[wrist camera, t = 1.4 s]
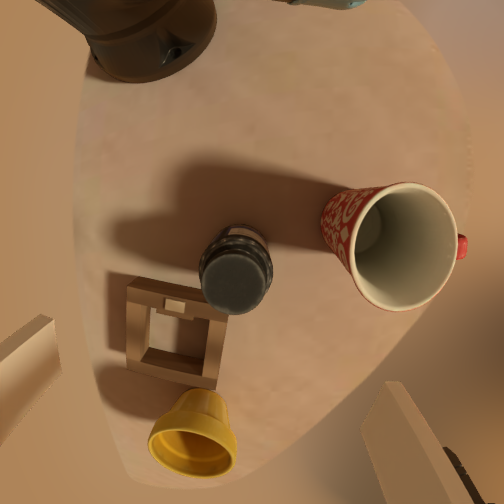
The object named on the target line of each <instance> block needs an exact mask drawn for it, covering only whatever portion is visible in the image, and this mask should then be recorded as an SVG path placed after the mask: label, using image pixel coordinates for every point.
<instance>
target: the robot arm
mask: <svg viewBox="0 0 504 504" xmlns="http://www.w3.org/2000/svg"><path fill="white" fill-rule="evenodd" d="M36 1H37V2H39V3H41V4H42V5H43V6H45V7H46V8H48V9H49V10H50V11H52V12H53V13H55V14H56V15H58V16H59V17H61V18H62V19H63V20H65V21H66V22H67V23H69V24H70V25H72V26H73V27H74V28H76V29H77V30H78V31H80V32H81V33H82V34H84V35H85V38H86V40H87V43H88V45H89V46H90V49H91V53H92V56H93V58H94V60H95V61H96V63H97V64H98V65H99V67H100V68H101V69H103V70H104V71H105V72H107V73H108V74H110V75H111V76H113V77H114V78H116V79H118V80H121V81H124V82H130V83H145V82H151V81H156V80H159V79H162V78H165V77H168V76H170V75H172V74H174V73H176V72H178V71H180V70H182V69H183V68H185V67H186V66H188V65H189V64H190V63H192V62H193V61H194V60H195V59H196V58H197V57H198V56H199V55H200V54H201V53H202V52H203V51H204V50H205V49H206V47H207V46H208V44H209V43H210V41H211V39H212V37H213V35H214V32H215V29H216V24H217V14H216V9H215V5H214V2H213V0H36ZM274 1H281V2H287V4H290V5H300V4H303V5H311V6H319V7H325V8H330V9H336V10H347V9H352V8H355V7H357V6H359V5H361V4H363V3H364V2H365V1H367V0H274ZM61 374H62V370H61V365H60V359H59V353H58V346H57V339H56V332H55V323H54V319H52V318H50V317H47V316H44V315H42V314H40V315H38V316H37V317H36V318H34V319H33V320H31V321H30V322H29V323H27V324H26V325H25V326H23V327H22V328H20V329H19V330H18V331H16V332H15V333H13V334H12V335H11V336H9V337H8V338H7V339H6V340H4V341H3V342H1V343H0V446H1V445H2V444H3V442H4V441H5V440H6V438H7V437H8V436H9V435H10V434H11V432H12V431H13V430H14V429H15V427H16V426H17V425H18V424H19V423H20V421H21V420H22V419H23V418H24V417H25V415H26V414H27V413H28V412H29V411H30V409H31V408H32V407H33V406H34V405H35V404H36V402H37V401H38V400H39V399H40V397H42V395H43V394H44V393H45V392H46V391H47V389H48V388H49V387H50V386H51V385H52V384H53V383H54V382H55V380H57V378H58V377H59V376H60V375H61ZM360 432H361V435H362V437H363V440H364V443H365V445H366V448H367V451H368V453H369V456H370V459H371V461H372V464H373V467H374V469H375V472H376V475H377V478H378V481H379V483H380V486H381V489H382V492H383V495H384V497H385V500H386V503H387V504H485V502H484V501H483V500H482V498H481V496H480V495H479V493H478V491H477V489H476V487H475V486H474V484H473V482H472V481H471V479H470V477H469V475H468V474H466V470H465V469H464V467H462V464H461V462H460V461H459V459H458V457H457V456H456V454H454V453H453V452H452V451H451V450H450V449H448V448H447V447H443V448H442V447H441V445H440V443H439V442H438V440H437V438H436V437H435V435H434V434H433V432H432V430H431V429H430V427H429V425H428V424H427V422H426V421H425V419H424V417H423V416H422V414H421V413H420V411H419V410H418V408H417V406H416V405H415V404H414V402H413V400H412V399H411V397H410V396H409V394H408V393H407V391H406V390H405V388H404V386H403V385H402V383H401V382H399V381H398V382H397V381H385V382H384V384H383V386H382V388H381V390H380V392H379V394H378V396H377V398H376V400H375V402H374V404H373V406H372V407H371V409H370V411H369V413H368V415H367V417H366V418H365V421H364V422H363V424H362V426H361V427H360ZM488 504H495V503H488Z"/></svg>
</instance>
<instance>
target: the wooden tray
mask: <svg viewBox="0 0 504 504" xmlns="http://www.w3.org/2000/svg"><path fill="white" fill-rule="evenodd" d="M151 307H152V308H157V310H156V313H160V314H164V315H169V316H173V317H178V318H182V319H187V320H192V321H193V319H194V317H198V318H203V319H208V320H210V324H209V330H208V337H207V344H206V352H205V359H204V360H203V359H198V358H193V357H188V356H184V355H179V354H175V353H171V352H166V351H162V350H158V349H154V348H150V347H149V327H150V309H151ZM228 316H229V314H224V313H221V312H219V311H217V310H216V309H214V308H213V307H212V306H211V305H210V304H209V303H208V302H207V301H206V299H205V297H204V295H203V293H202V289H197V288H192V287H187V286H182V285H177V284H172V283H167V282H163V281H158V280H153V279H149V278H144V277H140V276H139V277H137V278H136V279H135V280H134V281H133V282H131V283H130V284H129V285H128V286H127V301H126V363H127V370H131V371H134V372H138V373H141V374H145V375H149V376H153V377H157V378H160V379H164V380H169V381H173V382H177V383H182V384H186V385H191V386H195V387H200V388H205V389H211V390H216V384H217V379H218V374H219V368H220V362H221V356H222V350H223V344H224V338H225V333H226V327H227V321H228Z"/></svg>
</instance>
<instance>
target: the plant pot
mask: <svg viewBox="0 0 504 504" xmlns="http://www.w3.org/2000/svg"><path fill="white" fill-rule="evenodd" d="M148 449H149V451H150V453H151V455H152V456H153V458H154V459H155V460H156V461H157V462H158V463H160V464H161V465H162V466H164V467H165V468H167V469H169V470H170V471H173V472H175V473H177V474H180V475H183V476H187V477H192V478H201V479H207V478H216V477H220V476H222V475H225V474H227V473H228V472H229V471H231V470H232V468H233V467H234V465H235V462H236V453H237V441H236V437H235V435H234V433H233V432H232V430H231V429H230V424H229V418H228V412H227V406H226V403H225V401H224V400H223V399H222V398H221V397H220V396H219V395H218V394H216V393H215V392H213V391H210V390H207V389H202V388H195V389H190V390H188V391H186V392H184V393H183V394H182V395H181V396H180V398H179V399H178V400H177V402H176V403H175V404H174V406H173V407H172V408H171V410H170V411H169V412H168V413H166V414H164V415H162V416H161V417H160V418H159V419H158V420H157V421H156V423H155V425H154V427H153V429H152V431H151V433H150V436H149V439H148Z"/></svg>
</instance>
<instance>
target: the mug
mask: <svg viewBox="0 0 504 504" xmlns="http://www.w3.org/2000/svg"><path fill="white" fill-rule="evenodd" d="M321 232H322V235H323V238H324V240H325V242H326V243H327V245H328V246H329V247H330V248H331V250H332V251H333V252H334V253H335V254H336V256H337V257H338V258H339V260H340V261H341V262H342V264H343V265H344V266H345V268H346V269H347V271H348V272H349V273H350V274H351V276H352V278H353V280H354V283H355V285H356V287H357V289H358V290H359V292H360V293H361V295H362V296H363V297H364V298H365V299H366V300H367V301H368V302H370V303H371V304H373V305H374V306H376V307H378V308H380V309H383V310H386V311H391V312H404V311H409V310H413V309H415V308H418V307H420V306H422V305H424V304H425V303H427V302H428V301H430V300H431V299H433V298H434V297H435V296H436V295H437V294H438V293H439V292H440V290H441V289H442V288H443V287H444V285H445V284H446V282H447V280H448V278H449V276H450V275H451V272H452V270H453V267H454V264H455V261H456V260H458V259H463V258H464V257H465V256H466V252H467V238H466V237H465V236H464V235H461V234H458V233H457V227H456V223H455V219H454V216H453V214H452V212H451V210H450V208H449V206H448V205H447V203H446V202H445V201H444V199H443V198H442V197H441V196H440V195H439V194H438V193H437V192H435V191H434V190H433V189H431V188H429V187H427V186H425V185H423V184H419V183H414V182H400V183H395V184H392V185H389V186H384V187H374V188H363V189H352V190H346V191H343V192H341V193H339V194H337V195H335V196H334V197H333V198H331V199H330V201H329V202H328V203H327V204H326V206H325V208H324V210H323V213H322V216H321Z"/></svg>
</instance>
